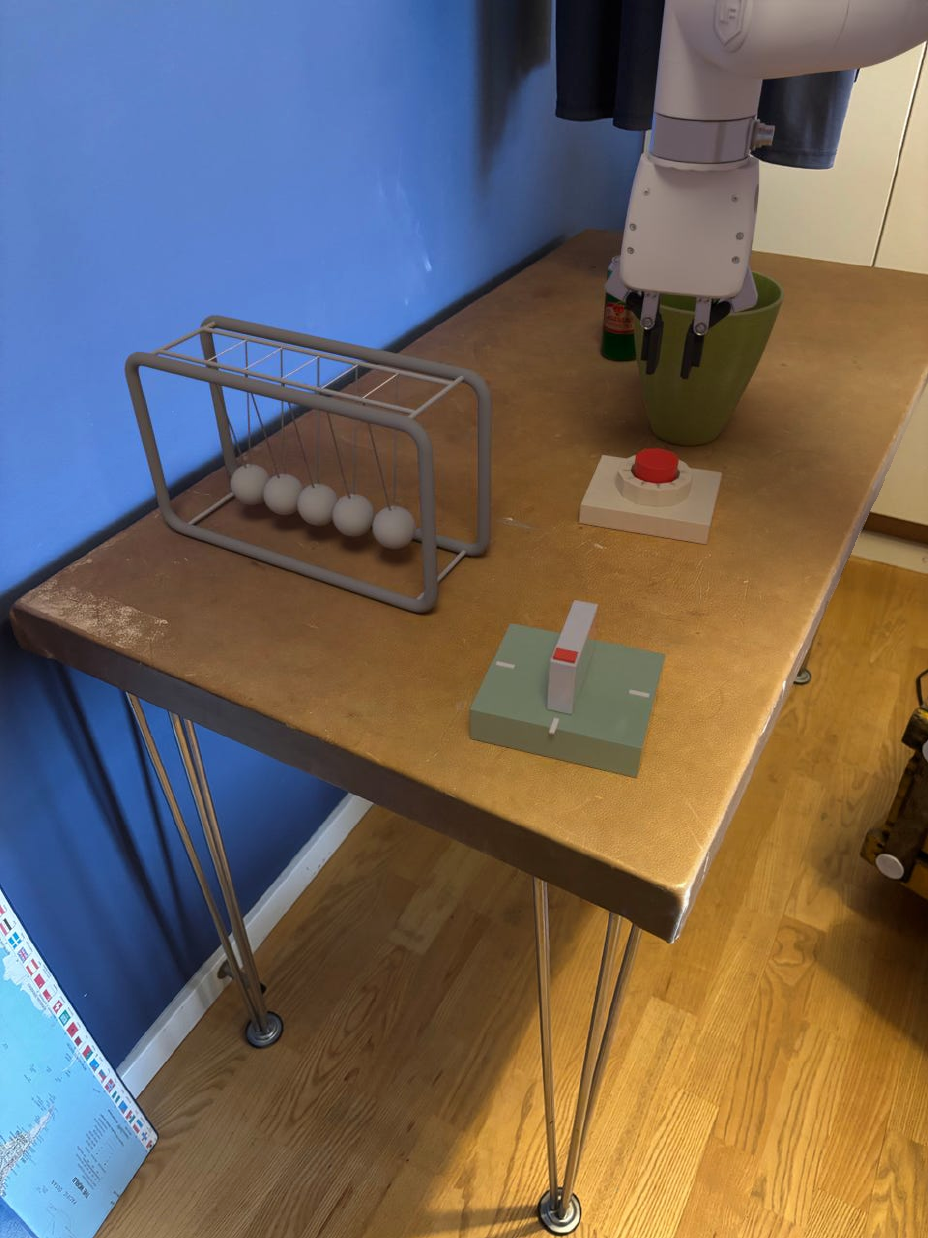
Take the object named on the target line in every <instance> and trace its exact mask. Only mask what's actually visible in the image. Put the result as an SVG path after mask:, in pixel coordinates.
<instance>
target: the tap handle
mask: <svg viewBox="0 0 928 1238" xmlns="http://www.w3.org/2000/svg"><path fill="white" fill-rule="evenodd" d="M598 612H599V604H598V603H593V602H588V601H583V600H577V599H574V600H573V601H572V604H571V606H570V609H569V612H568V614H567V617H566V620H565V622H564V624H563V625H562V629H561V632H560V633H561V634H560V637H559V639H558V642H557V644H556V647H555V649H554V652H553V654H552V657H551V659H550V666H549V681H548V697H547V709H549V710H553V711H557V712H562V713H566V714H572V713H573V710H574V707H575V704H576V701H577V698H578V695H579V692H580V690H581V687H582V684H583V681H584V678H585V675H586V672H587V669H588V666H589V664H590V661H591V658H592V655H593V652H594V643H595V640H596V634H597V633H596V631H597V625H598V623H597V622H598Z"/></svg>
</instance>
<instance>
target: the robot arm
mask: <svg viewBox="0 0 928 1238" xmlns="http://www.w3.org/2000/svg"><path fill="white" fill-rule="evenodd" d="M663 8H664V10H663V17H662V28H661V37H660V46H659V47H660V48H659V54H658V65H657V73H656V74H657V75H656V83H655V93H654V104H653V111H652V112H653V113H652V122H651V130H650V131H651V132H650V139H649V140H650V141H649V149H648V151H644V152H642V153H641V155H640V158H639V161H638V164H637V167H636V171H635V174H634V178H633V183H632V187H631V192H630V196H629V201H628V206H627V213H626V216H625V217H626V218H625V225H624V230H623V237H622V242H621V243H622V244H621V250H620V251H621V252H620V255H621V257H620V259H619V261H618V262H617V264H616V266H615V268H614V270H613V271H612V273H611V275H610V277H609V278H608V280H607V279H606V282H605V284H604V287H603V288H604V289H603V290H604V291H605V293H606V292H607V293H609V294H610V295H612V296H614V297H615V298H617V299H619V300H620V301H623V302H625V303H626V304H627V306H628V307H629V308H630V309H631V311H632V312H633V313H634V314H635V315H636V317H637V318H638V319H639V320H640V324H641V326H642V328H644V332H643V341H642V349H641V360H642V361H647V366H646V374H647V375H652V374H654V373H655V371H656V368H657V366H658V363H659V359H660V352H661V344H662V336H663V329H664V321H662V319H663V318H662V315H661V314H660V307H661V301H662V295H663V294H672V295H682V296H692V297H697V298H696V308H695V317H694V318H693V320H692V323H691V324H690V326H689V329H688V332H687V334H686V339H685V345H684V352H683V359H682V366H681V373H680V377H682V379H688V378H689V375H690V372H691V369H692V367H699V366H700V362H701V357H702V351H703V345H704V338H705V333H706V332H707V331H708V330H709V329H710V328H711V327H713V326H714V325H715V324H717V323H718V322H719V321H721V320H722V319H723V318H725V317H726V316H727V315H728V314H731V313H736V312H739V311H742V310H746V309H749V308H752V307H754V306H755V305H756V303H757V299H758V293H757V290H756V286H755V282H754V279H753V275H752V271H751V270H752V269H751V258H752V251H753V243H754V238H755V237H754V236H755V229H756V222H757V215H758V204H759V195H760V194H759V193H760V160H759V159H758V158H757V157H755V156H752V155H751V152H752V151H753V152H755V150H756V148H762V147H763V146H764V147H765V146H767V147H771V146H772V144H773V138H774V134H775V129H776V126H775V125H767V124H766V123H765V122H761V119H760V118H758V108H759V104H760V99H761V98H760V97H761V93H762V86H763V80H773V79H782V78H790V77H798V76H803V75H810V74H811V75H812V74H818V73H819V74H820V73H829V72H837V71H839V72H840V71H849V70H859V69H864V68H870V67H872V66H873V67H874V66H876V65H879V64H882V63H885V62H887V61H890V60H892V59H894V58H896V57H898V56H900V55H903V54H905V53H907V52H909V51H910V50H912V49H914V48H916V47H919V46H920V45H922V44H923V43H924V44H925V42H928V0H664V7H663ZM643 291H644V292H645V294H644V292H643ZM714 299H718V300H717V301H716V302H714Z"/></svg>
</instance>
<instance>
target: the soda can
mask: <svg viewBox="0 0 928 1238" xmlns="http://www.w3.org/2000/svg"><path fill="white" fill-rule="evenodd" d="M620 257H621V254H619V255H615V256H613V257H612V258H611V263H610V264H609V265H608V267H607V274H606V281H607V280H608V278H609V277H610V275H611V273H612V271H613V270H614V268H615V266H616V264H617V262H618V261H619V259H620ZM604 296H605V297H604V309H603V318H602V319H603V321H602V330H601V331H602V332H601V344H600V352H601V353H602V354H603V356H604V357H605V358H607V359H609V360H612V361H616V362H627V361H631V360H634V359H635V358H637V357H636V348H635V337H634V324H633V312H632V311H631V309H630V308H629V307H628V306H627V304H626V303H625V302H623V301H620V300H619V299H617V298H615V297H614V296H612V295H610V294H609V293H607V292H606V291H605V295H604Z"/></svg>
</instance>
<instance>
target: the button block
mask: <svg viewBox="0 0 928 1238" xmlns="http://www.w3.org/2000/svg"><path fill="white" fill-rule="evenodd" d="M636 455H637V454H634V455H632V456H629V457H628V458H625V457H618V456H613V455H605V454H602V455H601V457H600V460H599V462H598V464H597V466H596V468H595V471H594V473H593V474H592V477H591V480H590V481H589V484H588V486H587V488H586V491H585V493H584V495H583V497H582V500H581V502H580V504H579V505H580V506H579V518H578V523H579V524H580V525H588V526H593V527H599V528H605V529H606V528H607V529H610V530H611V529H612V530H618V531H622V532H629V533H633V534H634V533H635V534H639V535H640V534H641V535H648V536H653V537H658V538H665V539H670V540H675V541H676V540H677V541H682V542H688V543H694V544H700V545H707V544H708V540H709V536H710V531H711V526H712V522H713V519H714V514H715V510H716V505H717V501H718V496H719V493H720V488H721V487H720V486H721V481H722V477H723V472H721V471H713V470H707V469H701V468H693V467H690V466H689V465H688V464H687V463H686V462H684V461H682V460H680V459H679V462H678V468H677V475H676V479H675V480H674V481H672V482H670V483H661V484H655V483H649V482H644V481H642V480H640V479H638V478H636V477H635V476H634V466H635V458H636Z"/></svg>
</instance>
